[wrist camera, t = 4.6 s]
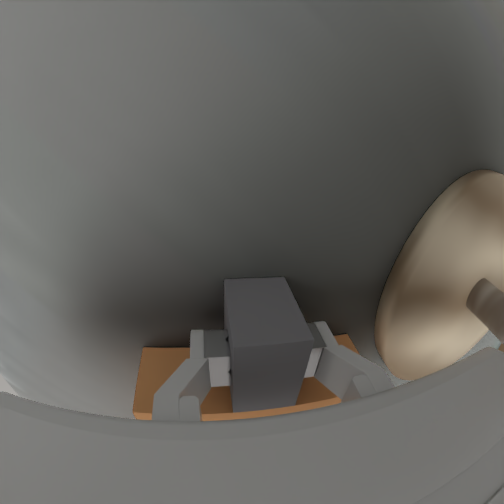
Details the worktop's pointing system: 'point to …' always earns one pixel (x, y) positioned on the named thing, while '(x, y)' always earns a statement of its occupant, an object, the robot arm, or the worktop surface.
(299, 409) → the orange square frame
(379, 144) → the worktop surface
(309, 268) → the worktop surface
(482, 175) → the round peg stand
